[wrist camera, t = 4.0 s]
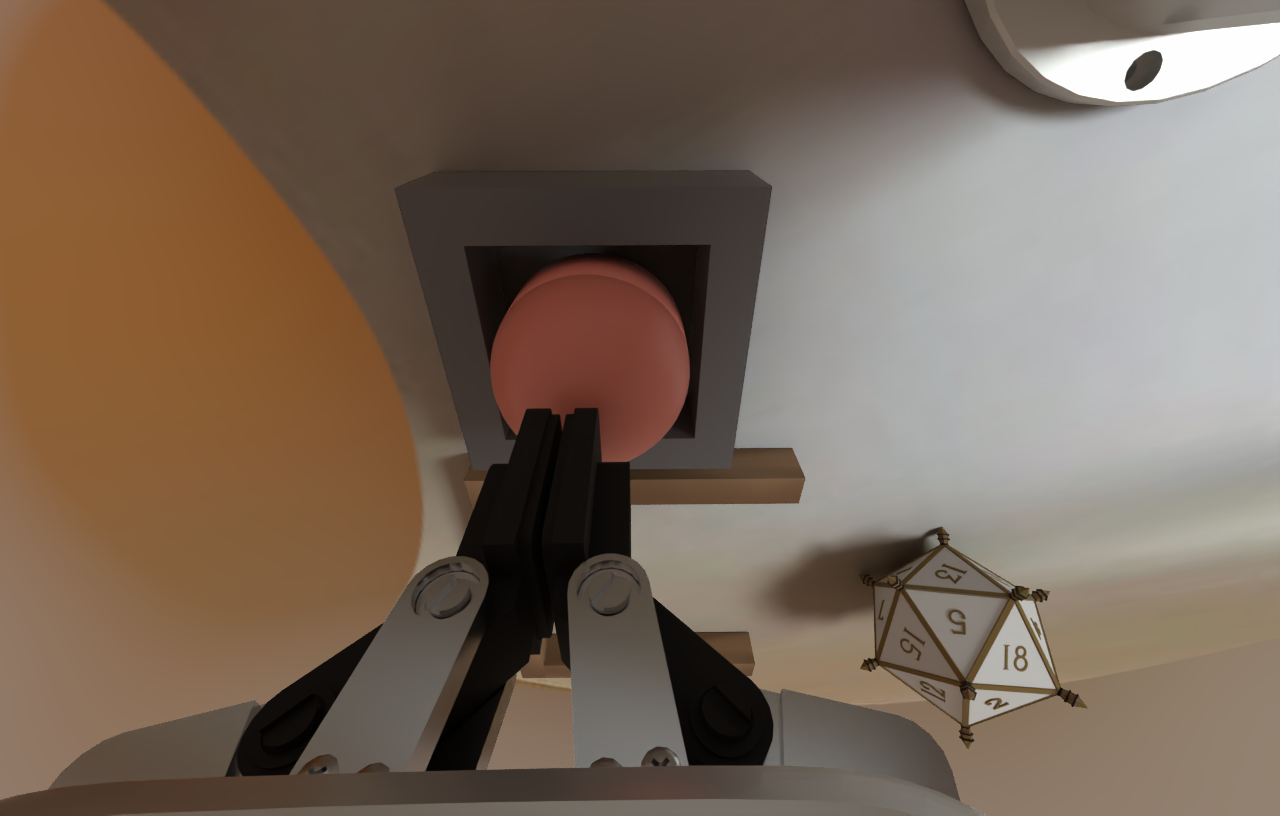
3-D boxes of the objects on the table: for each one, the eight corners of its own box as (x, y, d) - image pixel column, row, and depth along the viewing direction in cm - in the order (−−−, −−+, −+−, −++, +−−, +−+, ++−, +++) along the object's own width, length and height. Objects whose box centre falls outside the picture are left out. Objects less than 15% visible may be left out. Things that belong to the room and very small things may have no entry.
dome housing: (434, 171, 15) (394, 188, 12) (749, 170, 15) (772, 186, 12) (493, 424, 20) (473, 470, 18) (719, 422, 20) (730, 468, 18)
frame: (477, 450, 21) (463, 480, 20) (792, 448, 21) (805, 478, 20) (528, 646, 31) (522, 677, 29) (745, 644, 31) (751, 675, 29)
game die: (914, 496, 28) (1146, 590, 21) (879, 615, 30) (1078, 741, 23) (833, 521, 23) (1102, 658, 15) (796, 663, 25) (1018, 849, 17)
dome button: (501, 244, 15) (435, 320, 10) (685, 243, 15) (710, 318, 10) (527, 398, 18) (487, 511, 13) (677, 397, 18) (693, 510, 14)
